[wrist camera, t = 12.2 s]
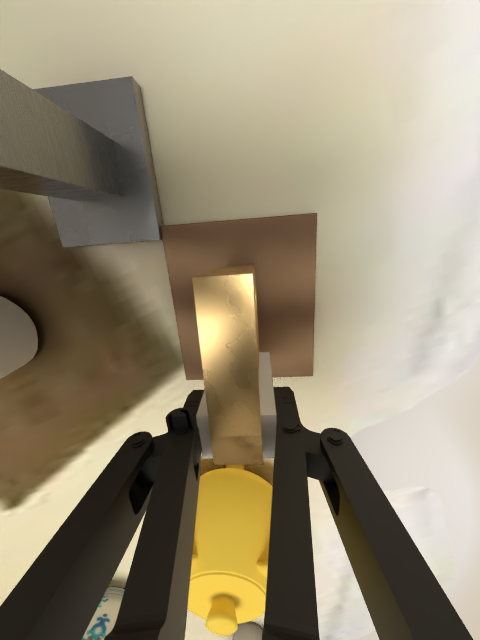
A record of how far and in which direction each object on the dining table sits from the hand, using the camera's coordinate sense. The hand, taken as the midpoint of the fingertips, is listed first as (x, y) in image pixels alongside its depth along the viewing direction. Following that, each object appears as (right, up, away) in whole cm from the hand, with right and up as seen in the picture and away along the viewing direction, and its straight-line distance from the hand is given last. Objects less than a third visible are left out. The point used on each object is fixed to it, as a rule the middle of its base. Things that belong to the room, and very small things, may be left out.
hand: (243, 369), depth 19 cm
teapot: (-1, -18, +12) cm, 21 cm away
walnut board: (0, +5, +4) cm, 6 cm away
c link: (0, +4, +2) cm, 4 cm away
